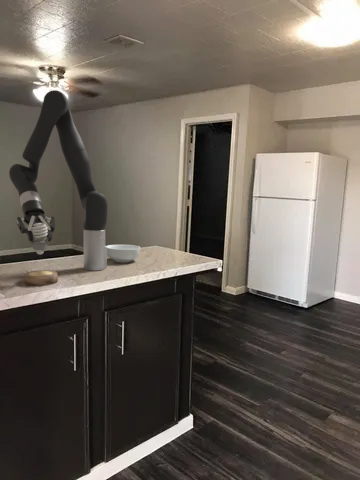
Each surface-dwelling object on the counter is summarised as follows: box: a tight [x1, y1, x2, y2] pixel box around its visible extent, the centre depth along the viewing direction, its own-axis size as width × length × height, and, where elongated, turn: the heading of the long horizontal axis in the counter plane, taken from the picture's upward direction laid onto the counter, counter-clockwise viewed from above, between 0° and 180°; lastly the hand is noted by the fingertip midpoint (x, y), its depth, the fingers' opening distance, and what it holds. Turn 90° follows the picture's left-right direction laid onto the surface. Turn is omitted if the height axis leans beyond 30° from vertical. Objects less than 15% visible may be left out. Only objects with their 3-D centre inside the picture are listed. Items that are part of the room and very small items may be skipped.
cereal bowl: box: [105, 244, 141, 263], centre depth 190 cm, size 17×17×7 cm
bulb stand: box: [22, 269, 58, 287], centre depth 147 cm, size 12×12×3 cm
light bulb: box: [31, 223, 48, 256], centre depth 145 cm, size 6×6×12 cm
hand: (41, 240), depth 144 cm, fingers closed on light bulb, 5 cm apart
